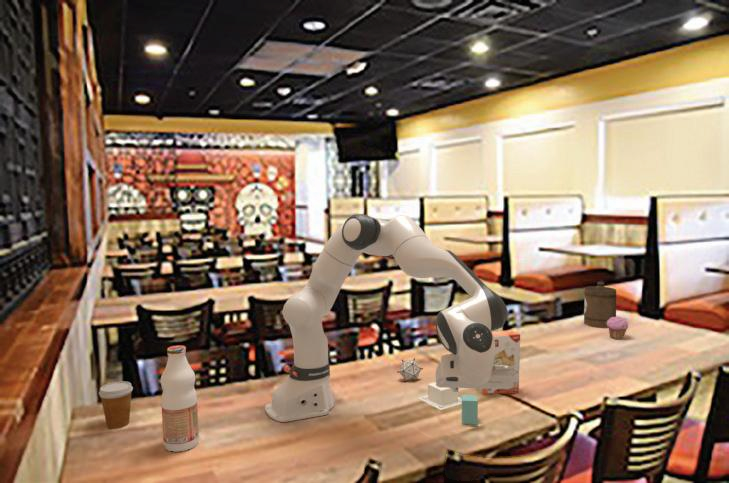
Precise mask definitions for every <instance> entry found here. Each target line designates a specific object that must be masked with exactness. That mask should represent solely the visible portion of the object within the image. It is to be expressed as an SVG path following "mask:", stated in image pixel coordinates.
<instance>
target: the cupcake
mask: <svg viewBox="0 0 729 483" xmlns="http://www.w3.org/2000/svg"><path fill="white" fill-rule="evenodd" d="M607 326H608V327H609V328H608V334H609V337H610V338H612V339H614V340H621V339H623V338H624V337H625V336H626V333H627V330H628V328H629V324H628V321H627V320H626V319H625V318H624V317H621V316H616V317H611V318H610V319H609V320H608V321H607Z"/></svg>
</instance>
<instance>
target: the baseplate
mask: <svg viewBox="0 0 729 483" xmlns="http://www.w3.org/2000/svg"><path fill="white" fill-rule="evenodd" d="M417 399H419V400H421V401H422V402H424V403H426V404H428V405H430V406H432V407H434V408H436V409H437V410H439V411H443V410H446V409H448V408H449V409H450V408H452V407H456V406H458V405H462V397H460V396H458V401H456V402H452V403H449V404H445V405H439V404H437V403H435V402H433V401H432V400H430V399H428V394H426V395H423V396H419V397H417Z"/></svg>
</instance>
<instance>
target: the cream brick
mask: <svg viewBox="0 0 729 483" xmlns="http://www.w3.org/2000/svg"><path fill="white" fill-rule="evenodd" d="M427 395H428V399H430V400H432V401H433V402H435V403H437V404H439V405H445V404H449V403H452V402H456V401H458V397H459V391H458V392H453V390H452V389H451V388H440V387H438V386H436V381H434V382H431V383H427Z"/></svg>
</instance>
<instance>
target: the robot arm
mask: <svg viewBox="0 0 729 483" xmlns="http://www.w3.org/2000/svg"><path fill="white" fill-rule="evenodd" d="M363 253H364V254H367V255H371V256H372V255H373V256H377V257H378V256H379V257H382V258H394V260H395V262H396V263H397V265H398V266H399V268H400V270H402V272H403V273H404V274H406V275H407V276H409V277H412V278H416V279H417V278H418V279H429V278H440V277H441V278H449V279H452V280H454V281H455V282H456V283H458V284H459V286H460V287H461V288H462V289H463V290H464V291H465V293H467V294H468V295H469V296H470V298H468V299H466V300H463V301H461V302H459V303H456V304H453V305H451V306H449V307H447V308H445V309H443V310H441V311H439V312H438V314H437V315H436V320H435V330H436V333H437V337H438V339H439V340H440V342H441V345H442V346H443V347H444V349H445V350H446V351H448V352H449V354H443V355H441V356H440V362H439V363H438V364H437V367H436V369H435V382H436V386H438V387H440V388H451V389H452V390H453V392H458V393H459V389H475V388H488V393H493V392H494V391H495V390H497V389H510V388H512V387H513V376H514V375H515V374H516V370H515V368H511V367H510V366H507V365H493V360H494V357H495V341H494V336H493V334H492V332H495V331H496V330H499V329H501V328H503V326H504V325H505V323H506V321H507V318H508V308H507V305H506V304H505V301H504V300H503V298H502V297H501V296H500V295H498V294H497V293H496V292H495V291H494V290H492V289H491V288H490V287H489V286H487V285H486V284H485V283H484V282H483V281H482V280H481V279H480V278H479V277H478V276H477V275H476V273H475V272H473V270H471V268H470V267H468V265H467V264H466V263H465V262H464V261H463V260H461V258H459V257H458V256H457V254H455V253H454V252H453V251H451V250H449V249H443V248H441V247H439V246H437V245H435V243H433V242H431V240H430V239H429V237H428V236H427V235H426V233H425V231H423V229H422V227H420V226H419V225H418V224H417V222H416V221H414V220H413V219H412V218H411V217H410V216H408V215H396V216H394V217H392V218H391V219H389V220H388V221H387V220H384V219H382V218H377V217H373V216H370V215H367V214H362V213H361V214H359V213H357V214H353V215H350V216H349V217H348V218H347V219H345V222H344V223H342V224H340V225H339V227H338V228H337V229H336V230H335V231H334V232H333V233H332V234H331V237H329V239H328V240H327V242H326V243H325V245H324V246H323V248H322V250H321V252H320V253H319V255H318V257H317V259H315V262H314V264H313V266H312V268H311V273H310V276H309V278H308V281H307V283H306V284H305V286H304V287H303V288H302V289H301V290H299V291H297V292H296V293H295V292H294V294H291V295H290V297H289V298H288V299H287V300H286V302H285V303H284V305H283V308H282V315H283V319H284V320H285V322H286V323H287V324H288V326H289V328H290V332H291V336H292V337H291V338H292V341H293V343H292V344H293V364H292V366H290V365H287V364H286V365H284V367H283V371H284V372H286V373H289V376H288V377H287V378H286V379H285V380H284V381H283V382H282V383H281V384H280V385H278V386H277V387H276V388H275V389H273V393H272V397H271V403H267V404H266V405H265V408H264V412H265V414H266V415H267V416H268V417H269V418H270V419H272V420H274V421H276V422H281V423H286V422H291V421H298V420H304V419H310V418H315V417H321V416H325V415H328V414H329V412H330V410H331V409H332V408H334V406H335V401H334V399H333V394H332V389H331V385H330V378H331V369H330V368H331V366H330V364H331V363H330V362H329V345H328V343H329V340H328V337H327V336H326V335H325V331H324V327H323V322H322V320H323V318H324V317H325V316H326V315H328V314H329V313H330V311H331V309H332V308H333V306H334V304H335V301H336V300H337V297H338V295H339V293H340V292H341V288H342V286H343V284H344V282H345V281H346V279H348V276H349V274H350V273H351V272H352V269H353V268H354V266H355V265H356V263H357V261H358V259H359V257H360V256H361V255H362V254H363Z"/></svg>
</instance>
